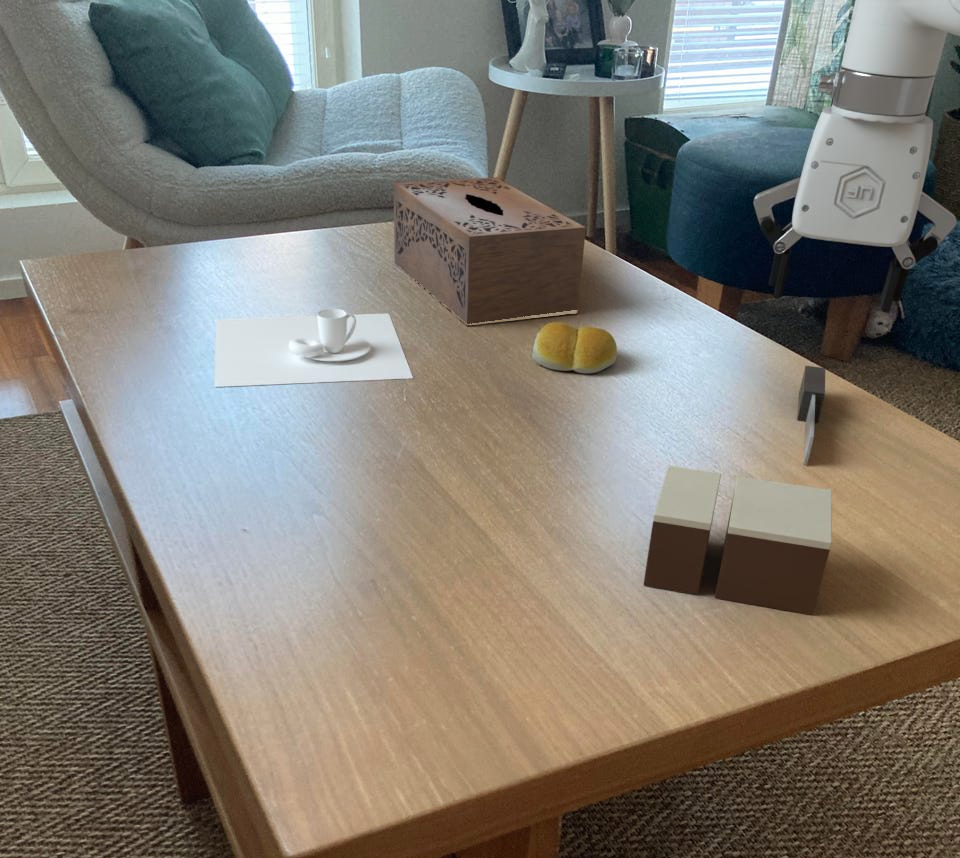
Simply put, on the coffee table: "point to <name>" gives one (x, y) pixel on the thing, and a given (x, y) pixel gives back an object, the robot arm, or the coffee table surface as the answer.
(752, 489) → the cake
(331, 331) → the teacup and saucer
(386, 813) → the coffee table surface
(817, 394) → the knife
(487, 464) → the coffee table surface
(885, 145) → the robot arm
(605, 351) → the bread roll
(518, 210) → the tissue box cover
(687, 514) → the cake slice
